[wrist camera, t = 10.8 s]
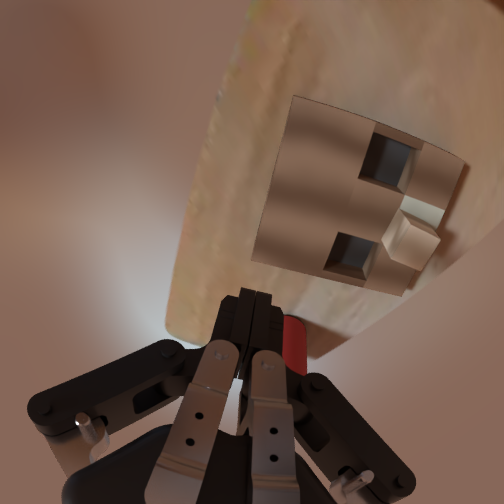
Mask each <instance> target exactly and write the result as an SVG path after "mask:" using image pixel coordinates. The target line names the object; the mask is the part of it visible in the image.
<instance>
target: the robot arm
mask: <svg viewBox="0 0 504 504" xmlns="http://www.w3.org/2000/svg"><path fill="white" fill-rule="evenodd" d="M255 294H256V295H255ZM271 301H272V294H268V293H263V292H259V291H257V292H256V291H255V290H251V289H247V288H242V287H241V290H240V293H239V297H234V296H230V295H227V296H226V297H225V298H224V299H223V300H222V301H221V304H220V308H219V311H218V315H217V318H216V322H215V325H214V329H213V333H212V336H211V339H210V341H209V343H208V344H207V345H205V346H204V347H202V348H198V349H185V348H184V347H183V346H182V345H181V344H180V343H179V342H177V341H174V340H170V339H164V340H160V341H157V342H156V343H153V344H151V345H149V346H147V347H145V348H142V349H140V350H138V351H136V352H133V353H131V354H129V355H127V356H125V357H122V358H120V359H118V360H115V361H113V362H111V363H109V364H106V365H104V366H102V367H99V368H97V369H95V370H93V371H90V372H88V373H85V374H83V375H81V376H78V377H76V378H74V379H71V380H69V381H67V382H65V383H62V384H59V385H57V386H55V387H52V388H50V389H47V390H45V391H42V392H40V393H37V394H35V395H34V396H33V397H32V398H31V399H30V400H29V402H28V405H27V412H28V415H29V417H30V419H31V420H32V421H33V423H34V424H35V426H36V428H37V430H38V431H39V432H40V434H41V435H42V436H43V438H44V439H45V440H46V441H47V442H48V444H49V446H50V448H51V450H52V451H53V453H54V455H55V457H56V459H57V461H58V462H59V464H60V466H61V468H62V469H63V471H64V472H65V474H66V476H67V478H68V479H67V481H66V482H65V484H64V487H63V490H62V504H392V503H394V502H396V501H399V500H401V499H403V498H404V497H406V496H408V495H410V494H411V493H412V492H413V491H414V489H415V486H416V478H415V476H414V474H413V472H412V471H411V470H410V469H409V468H408V467H407V466H406V465H405V463H404V462H403V461H402V460H401V459H400V458H399V457H398V456H397V455H396V454H395V453H394V452H393V451H392V449H391V448H390V447H389V446H388V445H387V444H386V443H385V442H384V441H383V440H382V438H380V436H379V435H378V434H377V433H376V432H375V431H374V430H373V428H371V426H370V425H369V424H368V423H367V422H366V421H365V420H364V418H362V416H361V415H360V414H359V413H358V412H357V411H356V410H355V409H354V407H353V406H352V405H351V404H350V403H349V402H348V401H347V400H346V398H345V397H344V396H343V395H342V394H341V393H340V392H339V390H338V389H337V388H336V387H335V386H334V385H333V384H332V382H331V381H330V380H328V378H327V377H326V376H324V375H322V374H319V373H308V374H306V375H305V376H303V375H301V374H299V373H296V372H294V371H293V370H291V369H290V368H289V367H288V366H287V365H286V364H285V362H284V360H283V357H282V352H283V330H284V314H283V312H282V310H281V308H280V307H277V306H272V305H271ZM239 369H240V370H239ZM238 372H239V375H238ZM237 375H238V379H242V380H243V384H242V388H241V391H240V395H239V408H238V423H237V432H236V436H234V435H230V434H228V433H225V432H223V431H221V430H219V429H218V428H219V424H220V421H221V418H222V414H223V411H224V407H225V404H226V401H227V397H228V393H229V390H230V388H231V385H232V382H233V379H234V378H237ZM180 396H184V398H183V400H182V403H181V405H180V408H179V410H178V413H177V415H176V417H175V420H174V423H173V424H168V425H163V426H159V427H157V428H154V429H152V430H151V431H149V432H147V433H145V434H144V435H142V436H140V437H139V438H137V439H135V440H134V441H132V442H130V443H128V444H127V445H125V446H123V447H121V448H120V449H118V450H116V451H114V452H112V453H111V454H109V455H107V456H105V457H103V458H101V459H100V460H98V461H96V460H97V458H98V457H99V455H101V454H102V453H103V452H105V451H106V450H107V448H108V446H109V443H110V440H109V435H111V434H113V433H114V432H116V431H119V430H121V429H122V428H124V427H126V426H128V425H130V424H132V423H134V422H136V421H138V420H140V419H142V418H143V417H145V416H147V415H149V414H151V413H153V412H154V411H156V410H158V409H160V408H162V407H164V406H166V405H167V404H169V403H171V402H173V401H174V400H176V399H178V398H179V397H180ZM294 437H295V438H296V440H297V441H298V442H299V444H300V445H301V446H302V447H303V449H304V450H305V451H306V452H307V454H308V455H309V456H310V457H311V459H312V460H313V461H314V462H315V464H316V465H317V466H318V467H319V469H320V470H321V471H322V472H323V473H324V475H325V476H326V477H327V478H328V480H329V481H330V482H331V485H330V488H329V492H330V493H329V492H328V491H327V489H326V488H325V487H324V486H323V484H322V483H321V482H320V480H319V479H318V478H317V476H316V475H315V474H314V472H313V471H312V470H311V468H310V467H309V466H308V464H307V463H306V462H305V460H304V459H303V458H302V457H301V456H300V455H299V454H297V453H296V452H295V445H294V444H295V443H294Z"/></svg>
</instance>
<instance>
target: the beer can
mask: <svg viewBox="0 0 504 504" xmlns="http://www.w3.org/2000/svg"><path fill="white" fill-rule="evenodd" d="M282 357H283V360H284V362H285V364H286V365H287V366H288V367H289V368H290V369H291V370H293V371H294V372H296V373H299V374H301V375H303V376H305V375H306V374H307V346H306V329H305V327H304V325H303V324H302V323H301V322H300V321H299V320H298V319H296V318H294V317H291V316H286V315H284V330H283V352H282Z"/></svg>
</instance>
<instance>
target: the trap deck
mask: <svg viewBox="0 0 504 504" xmlns="http://www.w3.org/2000/svg"><path fill="white" fill-rule="evenodd" d="M464 163H465V161H464V160H462V159H460V158H459V157H457V156H455V155H453V154H451V153H449V152H447V151H445V150H443V149H441V148H439V147H437V146H434V145H432V144H430V143H428V142H426V141H423V140H421V139H419V138H417V137H414V136H412V135H410V134H407V133H405V132H402V131H400V130H397V129H395V128H392V127H390V126H387V125H385V124H382V123H380V122H377V121H374V120H371V119H369V118H366V117H363V116H360V115H357V114H354V113H351V112H349V111H345V110H342V109H339V108H336V107H333V106H330V105H327V104H323V103H320V102H316V101H313V100H309V99H306V98H302V97H299V96H295V95H293V99H292V103H291V107H290V110H289V114H288V118H287V122H286V126H285V129H284V133H283V137H282V141H281V145H280V149H279V152H278V156H277V160H276V164H275V168H274V171H273V175H272V179H271V183H270V187H269V191H268V194H267V198H266V202H265V206H264V210H263V213H262V217H261V221H260V225H259V229H258V232H257V236H256V240H255V244H254V248H253V253H252V258H251V261H255V262H259V263H263V264H268V265H272V266H276V267H280V268H284V269H288V270H292V271H296V272H300V273H304V274H309V275H313V276H317V277H321V278H325V279H329V280H333V281H338V282H342V283H346V284H350V285H354V286H358V287H363V288H367V289H371V290H375V291H379V292H384V293H388V294H392V295H396V296H401V297H402V295H403V293H404V291H405V290H406V288H407V286H408V284H409V282H410V281H411V279H412V277H413V275H414V273H415V271H416V269H414V268H411V267H409V266H407V265H404V264H402V263H399V262H397V261H395V260H392V259H391V258H390V256H389V254H388V252H387V250H386V248H385V246H384V244H383V242H382V240H381V239H382V237H383V235H384V234H385V232H386V230H387V228H388V227H389V225H390V223H391V221H392V219H393V217H394V216H395V214H396V212H397V210H398V208H399V209H402V210H404V211H406V212H408V213H410V214H412V215H414V216H416V217H418V218H420V219H422V220H424V221H425V222H427V223H428V224H429V225H430V227H431V228H432V229H433V230H434V232H436V230H437V228H438V225H439V223H440V221H441V219H442V217H443V214H444V212H445V210H446V208H447V205H448V203H449V201H450V198H451V196H452V194H453V191H454V189H455V186H456V184H457V181H458V179H459V176H460V174H461V171H462V168H463V166H464Z"/></svg>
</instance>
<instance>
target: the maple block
mask: <svg viewBox="0 0 504 504" xmlns="http://www.w3.org/2000/svg"><path fill="white" fill-rule="evenodd" d="M381 240H382V242H383V244H384V246H385V248H386V250H387V252H388V254H389V256H390V258H391V259H392V260H395V261H397V262H399V263H402V264H404V265H407V266H409V267H411V268H414V269H416V270H418V271H421V270H422V269H423V267H424V266H425V264H426V263H427V261H428V260H429V258H430V257H431V255H432V253H433V252H434V250H435V249H436V247H437V245H438V244H439V242H440V240H441V239H440V238H439V236H438V235H437V234H436V233H435V232H434V230H433V229H432V228H431V227H430V225H429V224H428V223H427V222H425V221H424V220H422V219H420V218H418V217H416V216H414V215H412V214H410V213H408V212H406V211H404V210H402V209H399V208H398V210H397V212H396V214H395V216H394V217H393V219H392V221H391V223H390V225H389V227H388V228H387V230H386V232H385V234H384V235H383V237H382V239H381Z"/></svg>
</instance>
